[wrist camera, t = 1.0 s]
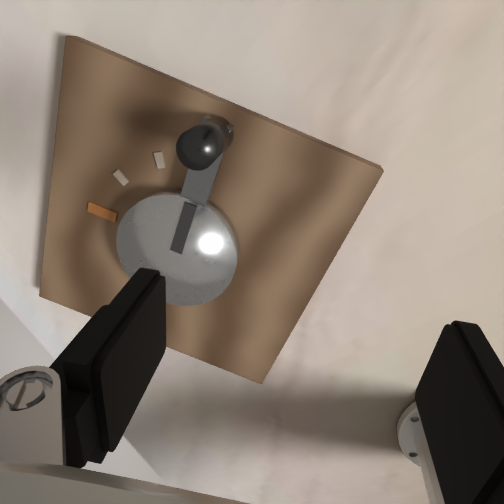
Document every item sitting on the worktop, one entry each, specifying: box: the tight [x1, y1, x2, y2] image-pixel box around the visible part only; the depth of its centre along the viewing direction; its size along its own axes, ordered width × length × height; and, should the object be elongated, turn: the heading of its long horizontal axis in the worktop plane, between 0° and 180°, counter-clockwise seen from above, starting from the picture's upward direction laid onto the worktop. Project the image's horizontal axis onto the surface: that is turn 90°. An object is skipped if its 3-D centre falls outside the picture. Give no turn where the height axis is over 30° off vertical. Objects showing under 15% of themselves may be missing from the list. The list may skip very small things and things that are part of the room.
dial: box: [116, 114, 240, 306], centre depth 28 cm, size 16×10×6 cm, turn 159°
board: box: [39, 36, 384, 384], centre depth 33 cm, size 24×24×2 cm
